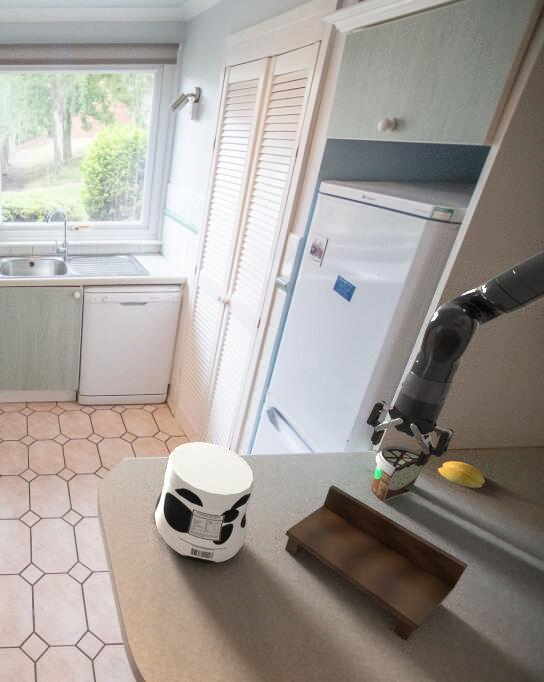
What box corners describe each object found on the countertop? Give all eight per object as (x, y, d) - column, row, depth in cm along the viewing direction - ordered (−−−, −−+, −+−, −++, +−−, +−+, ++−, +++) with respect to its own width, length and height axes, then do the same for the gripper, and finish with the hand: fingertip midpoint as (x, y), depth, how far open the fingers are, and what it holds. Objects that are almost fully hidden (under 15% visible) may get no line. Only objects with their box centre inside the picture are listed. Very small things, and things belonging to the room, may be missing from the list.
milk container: (199, 495, 104) (213, 430, 96) (260, 554, 89) (282, 483, 82) (136, 517, 98) (145, 450, 90) (190, 584, 83) (206, 511, 76)
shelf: (445, 604, 80) (468, 564, 76) (408, 645, 73) (430, 605, 69) (319, 520, 97) (332, 484, 93) (280, 548, 90) (292, 511, 86)
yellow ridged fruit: (430, 478, 109) (436, 465, 107) (444, 465, 113) (450, 452, 112) (474, 499, 103) (481, 486, 101) (487, 484, 107) (494, 471, 105)
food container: (387, 472, 111) (401, 439, 107) (414, 489, 106) (430, 455, 101) (352, 485, 107) (365, 451, 103) (378, 503, 102) (393, 468, 97)
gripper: (473, 404, 92) (441, 466, 98) (393, 374, 103) (370, 432, 110) (457, 414, 88) (426, 478, 95) (377, 382, 99) (354, 442, 106)
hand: (396, 454), depth 102 cm, fingers open, 8 cm apart
